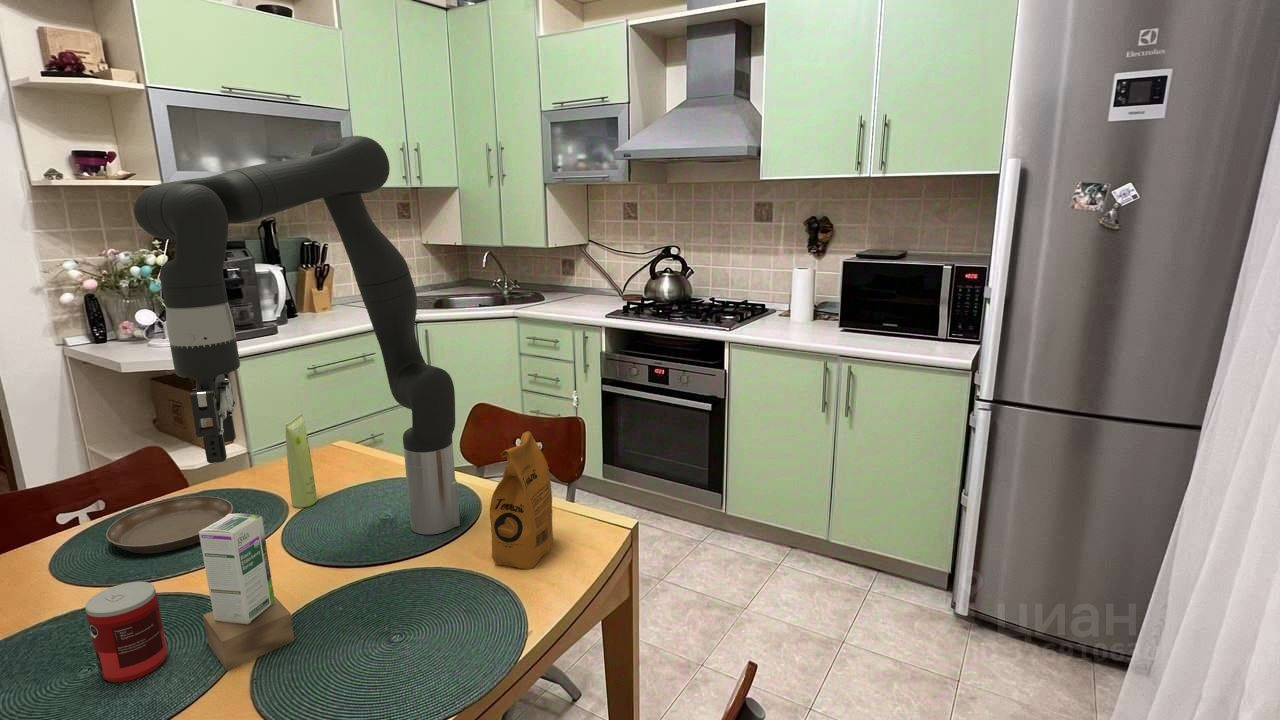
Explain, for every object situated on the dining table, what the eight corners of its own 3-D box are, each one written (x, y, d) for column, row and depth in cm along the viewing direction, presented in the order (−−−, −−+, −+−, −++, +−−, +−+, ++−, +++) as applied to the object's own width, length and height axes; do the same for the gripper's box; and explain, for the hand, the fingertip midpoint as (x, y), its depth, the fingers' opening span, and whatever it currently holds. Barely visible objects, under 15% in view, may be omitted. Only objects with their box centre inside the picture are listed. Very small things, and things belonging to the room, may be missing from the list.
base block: (272, 617, 106) (268, 589, 105) (294, 642, 100) (290, 613, 99) (208, 644, 100) (202, 615, 99) (227, 672, 94) (222, 641, 93)
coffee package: (483, 565, 120) (475, 451, 115) (514, 533, 132) (508, 427, 127) (534, 574, 118) (528, 456, 113) (561, 540, 129) (557, 432, 124)
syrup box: (248, 625, 96) (235, 532, 93) (212, 621, 97) (197, 529, 94) (275, 602, 102) (264, 514, 98) (241, 599, 103) (228, 511, 99)
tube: (322, 504, 145) (311, 418, 140) (297, 511, 142) (285, 424, 137) (312, 496, 149) (302, 412, 144) (288, 503, 146) (276, 417, 141)
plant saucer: (257, 522, 137) (254, 507, 137) (146, 571, 120) (143, 554, 119) (197, 502, 147) (195, 488, 146) (87, 544, 129) (83, 529, 128)
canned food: (123, 649, 98) (108, 582, 96) (180, 646, 99) (167, 579, 97) (85, 685, 91) (69, 614, 88) (147, 682, 92) (133, 611, 89)
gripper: (227, 345, 85) (246, 464, 89) (242, 326, 98) (258, 431, 102) (156, 351, 82) (180, 474, 86) (181, 330, 95) (200, 438, 99)
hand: (222, 450), depth 94 cm, fingers open, 8 cm apart
